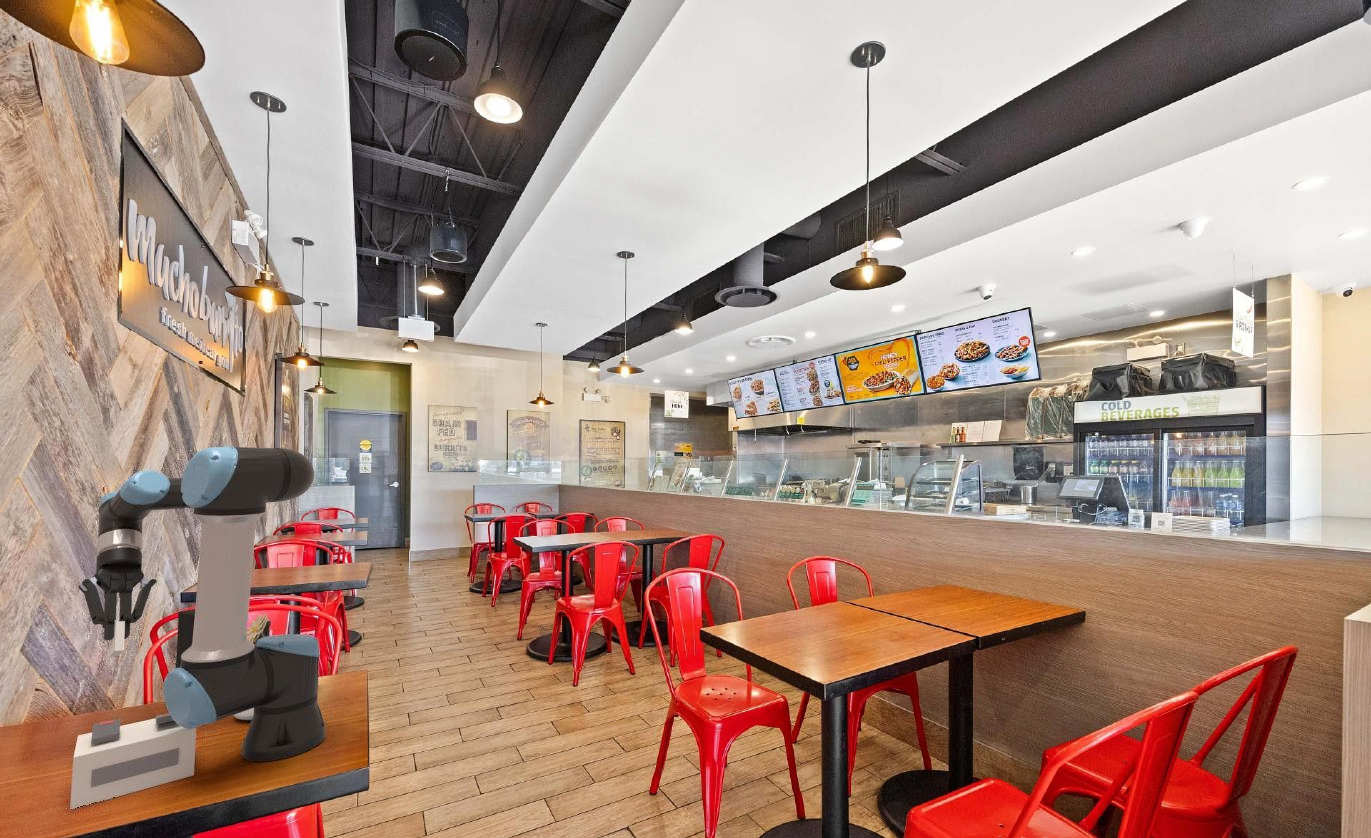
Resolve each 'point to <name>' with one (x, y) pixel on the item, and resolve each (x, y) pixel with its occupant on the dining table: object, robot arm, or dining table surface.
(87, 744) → the switch box
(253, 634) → the flower in vase
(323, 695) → the dining table surface
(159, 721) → the block
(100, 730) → the rocker outer
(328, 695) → the dining table surface
